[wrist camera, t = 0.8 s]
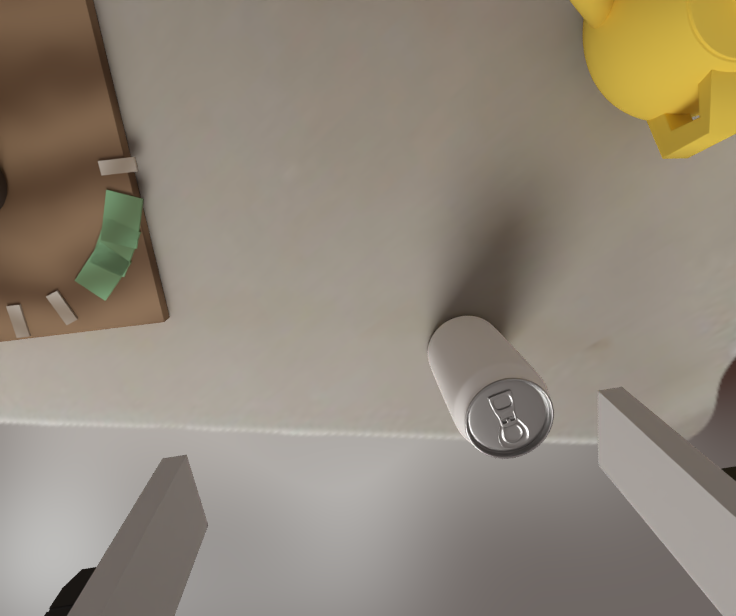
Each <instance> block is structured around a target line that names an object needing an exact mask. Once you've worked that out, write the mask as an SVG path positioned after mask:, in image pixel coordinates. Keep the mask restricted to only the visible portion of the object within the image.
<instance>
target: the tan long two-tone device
mask: <svg viewBox="0 0 736 616" xmlns="http://www.w3.org/2000/svg"><path fill="white" fill-rule="evenodd" d="M6 196H7V184H6V180H5V177H4V174H3V173H2V171H1V169H0V209H1V208H2V206H3V205H4V203H5V200H6Z"/></svg>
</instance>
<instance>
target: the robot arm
mask: <svg viewBox="0 0 736 616" xmlns="http://www.w3.org/2000/svg"><path fill="white" fill-rule="evenodd" d="M598 465H599V466H600V467H601V469H602V470H603V471H604V472H605V473H606V475H607V476H608V477H609V478H610V480H611V481H612V482H613V483H614V484H615V486H616V487H617V488H618V489H619V490H620V492H621V493H622V494H623V495H624V496H625V498H626V499H627V500H628V501H629V503H630V504H631V505H632V506H633V507H634V508H635V510H636V511H637V512H638V513H639V515H640V516H641V517H642V518H643V519H644V521H645V522H646V523H647V524H648V526H649V527H650V528H651V529H652V530H653V532H654V533H655V534H656V535H657V536H658V538H659V539H660V540H661V541H662V542H663V544H664V545H665V546H666V547H667V549H668V550H669V551H670V552H671V553H672V554H673V556H674V557H675V558H676V560H677V561H678V562H679V563H680V564H681V566H682V567H683V568H684V569H685V570H686V572H687V573H688V574H689V575H690V577H691V578H692V579H693V580H694V581H695V583H696V584H697V585H698V586H699V587H700V589H701V590H702V591H703V592H704V594H705V595H706V596H707V597H708V598H709V600H710V601H711V602H712V603H713V604H714V606H715V607H716V608H717V609H718V610H719V611H720V613H721V614H722V615H723V616H736V467H729V468H723V469H720V468H719V467H718V466H717V465H716V464H714V463H713V462H712V461H710V460H709V459H708V458H707V457H706V456H704V455H703V454H702V453H701V452H700V451H699V450H697V449H696V448H695V447H693V446H692V445H691V444H690V443H689V442H688V441H687V440H685V439H684V438H683V437H682V436H681V435H679V434H678V433H677V432H676V431H674V430H673V429H672V428H671V427H670V426H668V425H667V424H666V423H665V422H664V421H662V420H661V419H660V418H659V417H658V416H656V415H655V414H654V413H653V412H652V411H650V410H649V409H648V408H647V407H646V406H644V405H643V404H642V403H641V402H639V401H638V400H637V399H636V398H635V397H633V396H632V395H631V394H630V393H629V392H627V391H626V390H625V389H624V388H623V387H619V388H612V389H606V390H599V391H598ZM207 527H208V523H207V520H206V517H205V513H204V510H203V507H202V503H201V500H200V497H199V494H198V491H197V487H196V484H195V481H194V477H193V474H192V471H191V468H190V464H189V462H188V458H187V455H182V456H176V457H169V458H163V459H162V460H161V462H160V464H159V465H158V467H157V468H156V470H155V472H154V473H153V475H152V477H151V479H150V480H149V482H148V483H147V485H146V487H145V488H144V490H143V492H142V494H141V495H140V496H139V498H138V500H137V502H136V503H135V505H134V506H133V508H132V510H131V511H130V513H129V515H128V516H127V518H126V520H125V521H124V523H123V524H122V526H121V528H120V529H119V531H118V533H117V534H116V536H115V538H114V539H113V541H112V543H111V544H110V546H109V548H108V549H107V551H106V552H105V554H104V556H103V557H102V559H101V561H100V562H99V564H98V566H97V567H95V568H88V569H82V570H81V571H80V572H79V573H78V574H77V575H76V576H75V577H74V578H72V579H71V580H70V581H69V582H68V583H67V584H66V585H65V586H64V587H63V588H62V590H61V591H60V593H59V594H58V596H57V597H56V599H55V600H54V602H53V603H52V605H51V606H50V610H49V612H46V614H45V615H44V616H175V613H176V610H177V607H178V605H179V602H180V599H181V597H182V594H183V591H184V589H185V586H186V583H187V580H188V578H189V575H190V573H191V570H192V567H193V565H194V562H195V559H196V556H197V554H198V551H199V548H200V546H201V543H202V540H203V538H204V535H205V532H206V530H207Z"/></svg>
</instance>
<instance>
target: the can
mask: <svg viewBox="0 0 736 616" xmlns="http://www.w3.org/2000/svg"><path fill="white" fill-rule="evenodd" d="M428 361H429V364H430V367H431V370H432V372H433V375H434V377H435V379H436V382H437V384H438V386H439V389H440V391H441V393H442V396H443V398H444V400H445V403H446V405H447V407H448V409H449V412H450V414H451V416H452V418H453V421H454V423H455V425H456V427H457V429H458V430H459V432H460V433H461V434H462V436H463V437H464V438H465V439H466V440H467V441H469V442H470V443H471V444H473V446H474V447H475V448H476V449H478V450H479V451H480V452H482V453H484V454H485V455H488V456H491V457H494V458H501V459H508V458H515V457H519V456H522V455H525V454H527V453H529V452H530V451H532V450H534V449H535V448H536V447H538V446H539V445H540V444H541V443H542V442H543V441H544V439H545V438H546V437H547V435H548V433H549V432H550V429H551V427H552V424H553V418H554V410H553V405H552V402H551V399H550V396H549V392H548V389H547V386H546V384H545V383H544V381H543V379H542V378H541V377H540V375H539V374H538V373H537V372H536V371H535V370H534V368H533V367H532V366H531V365H530V364H529V363H528V362H527V361H526V360H525V359H524V358H523V357H522V356H521V354H520V353H519V352H518V351H517V350H516V349H515V348H514V347H513V346H512V345H511V344H510V343H509V342H508V341H507V340H506V339H505V338H504V336H503V335H502V334H501V333H500V332H499V331H498V330H497V329H496V328H495V327H494V326H493V325H492V324H490V323H489V322H488V321H486V320H484V319H482V318H479V317H475V316H460V317H456V318H453V319H451V320H449V321H447V322H445V323H444V324H442V325H441V326H440V327H439V328H438V329H437V330H436V331H435V333H434V334H433V336H432V338H431V340H430V342H429V346H428Z"/></svg>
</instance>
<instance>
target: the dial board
mask: <svg viewBox="0 0 736 616" xmlns="http://www.w3.org/2000/svg"><path fill="white" fill-rule="evenodd" d="M0 169H1V171H2V173H3V174H4V177H5V180H6V184H7V196H6V200H5V203H4V205H3V206H2V208H1V209H0V342H2V341H11V340H19V339H27V338H36V337H44V336H52V335H60V334H69V333H77V332H85V331H93V330H102V329H110V328H118V327H126V326H135V325H143V324H151V323H160V322H165V321H166V320H167V319H168V318H169V313H168V309H167V305H166V301H165V296H164V292H163V288H162V284H161V280H160V276H159V272H158V267H157V263H156V259H155V255H154V251H153V247H152V243H151V238H150V234H149V230H148V226H147V222H146V218H145V214H144V209H143V200H144V199H143V198H141V197H140V193H139V189H138V185H137V181H136V176H135V172H137V171H138V167H137V162H136V158H135V157H131V156H130V152H129V147H128V143H127V139H126V135H125V131H124V127H123V123H122V118H121V114H120V110H119V106H118V102H117V98H116V94H115V89H114V85H113V81H112V77H111V73H110V69H109V65H108V60H107V56H106V52H105V48H104V44H103V40H102V36H101V31H100V27H99V23H98V19H97V15H96V11H95V7H94V2H93V0H0Z"/></svg>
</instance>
